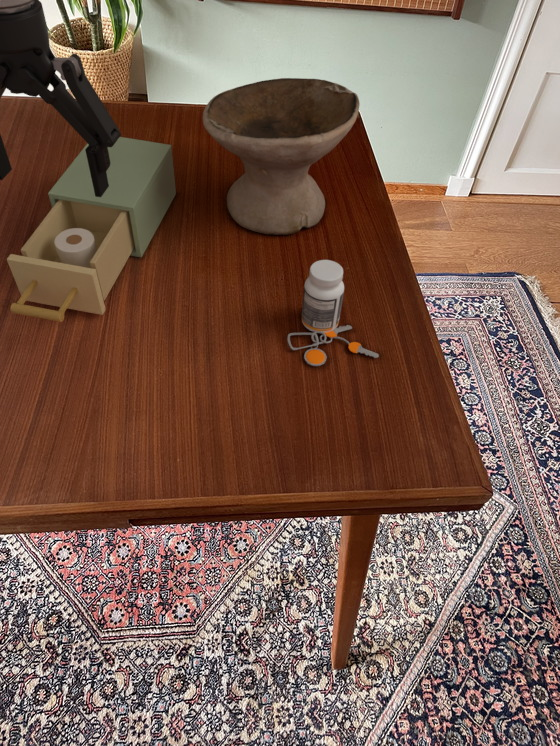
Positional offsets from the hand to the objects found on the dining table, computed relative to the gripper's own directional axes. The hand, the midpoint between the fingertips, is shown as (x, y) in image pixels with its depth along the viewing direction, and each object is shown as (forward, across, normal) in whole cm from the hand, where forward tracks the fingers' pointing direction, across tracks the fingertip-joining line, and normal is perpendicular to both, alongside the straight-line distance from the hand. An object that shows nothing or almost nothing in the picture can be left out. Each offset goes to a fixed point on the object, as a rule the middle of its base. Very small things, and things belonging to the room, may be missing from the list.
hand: (53, 183), depth 76 cm
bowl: (+18, -25, -29) cm, 42 cm away
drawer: (+17, 0, +1) cm, 17 cm away
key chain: (+18, -40, +3) cm, 44 cm away
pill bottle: (+18, -38, -1) cm, 42 cm away
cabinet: (+18, 0, -18) cm, 25 cm away
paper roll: (+16, 0, -1) cm, 16 cm away
